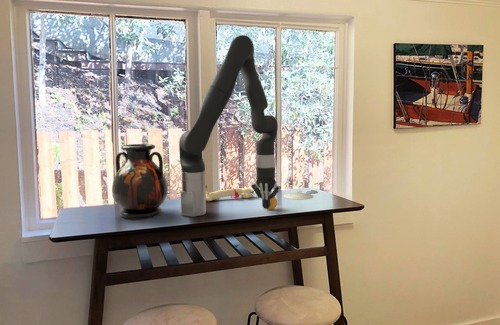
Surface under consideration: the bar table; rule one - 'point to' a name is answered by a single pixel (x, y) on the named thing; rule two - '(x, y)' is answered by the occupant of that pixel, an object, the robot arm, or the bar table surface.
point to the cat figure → (229, 193)
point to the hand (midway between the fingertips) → (266, 208)
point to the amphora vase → (139, 183)
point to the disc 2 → (308, 192)
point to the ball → (272, 203)
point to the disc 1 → (298, 196)
